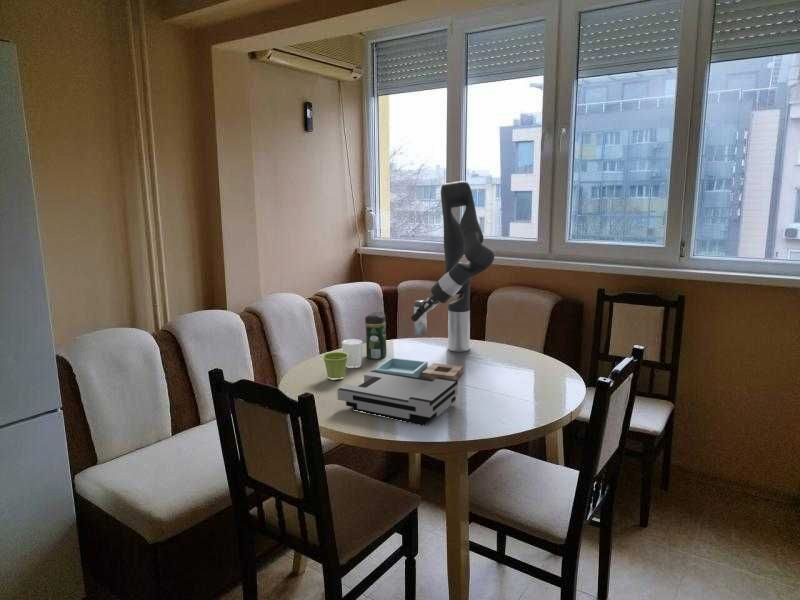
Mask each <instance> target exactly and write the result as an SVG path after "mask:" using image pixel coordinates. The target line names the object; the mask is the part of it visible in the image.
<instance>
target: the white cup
mask: <svg viewBox="0 0 800 600" xmlns="http://www.w3.org/2000/svg"><path fill="white" fill-rule="evenodd" d="M341 346H342V353H346V354H348V358H347V361H346V365H347V366H359V365H361V364H362V365H363V363H362V362H363V361H362V360H363V340H361V339H357V338H350V339H344V340H342V342H341Z"/></svg>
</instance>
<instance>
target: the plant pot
mask: <svg viewBox="0 0 800 600" xmlns="http://www.w3.org/2000/svg"><path fill="white" fill-rule="evenodd" d="M347 358H348V354H346V353H343V351H341V352H340V351H334V352H333V351H332V352H328V353H325V354H323V355H322V359H323V361H324V363H325V369H326V374H327V378H328V377H330V378H341V377H344V376H345V377H346V369H347V368H346V361H347ZM345 377H344V378H345Z"/></svg>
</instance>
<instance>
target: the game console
mask: <svg viewBox="0 0 800 600" xmlns="http://www.w3.org/2000/svg"><path fill="white" fill-rule="evenodd" d="M458 381H459V380H458V379H457V380H452V379H446V378H439V377H438V378H436V379H435V380H429V379H423V378H422V377H421V378H417V377H410V376H404V375H398V374H391V373H385V372H379V371H374V370H370V371H368V372H366V373H365V374H363V383H361V384H359V385H352V384H345V385H343V386H341V387H339V388H337V400H339V401H343V402H345V405H346V406H347V407H351V408H352V410H353V409H354V410H358V411H363V412H366V413H370V414H376V415H381V416H385V417H389V418H393V419H397V420H396V421H398V420H402V421H401V422H403V421H406V422H405V423H408V422H411V423H410V424H413V423H414V425H418V424H419V426H423V425H424V426H426V425H427V424H428V423H432V421H433V420H434V419H435V418H438V417H439V416H440V415H441V414H442V413H443V412H445V411H446V410H447V409H448V408H449V407H450V406H452V404H453V403H454V402H456V399H457V397H456V396H457V395H459V392H458V390H459V388H458V387H459V385H458V384H459V382H458ZM393 419H392V420H393ZM425 424H426V425H425Z"/></svg>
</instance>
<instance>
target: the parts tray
mask: <svg viewBox="0 0 800 600" xmlns="http://www.w3.org/2000/svg"><path fill="white" fill-rule="evenodd" d="M428 367H429V366H428V361H425V360H415V359H414V360H413V359H408V358H407V359H406V358H398V357H390V358H389V359H387V360H386V361H384V362H382V363H381V364H380V365H379V366H377V367H376V368H374V370H373V371H379V372H385V373H391V374H398V375H404V376H410V377H417V378H422V372H423V371H424V370H426V369H427V368H428Z"/></svg>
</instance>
